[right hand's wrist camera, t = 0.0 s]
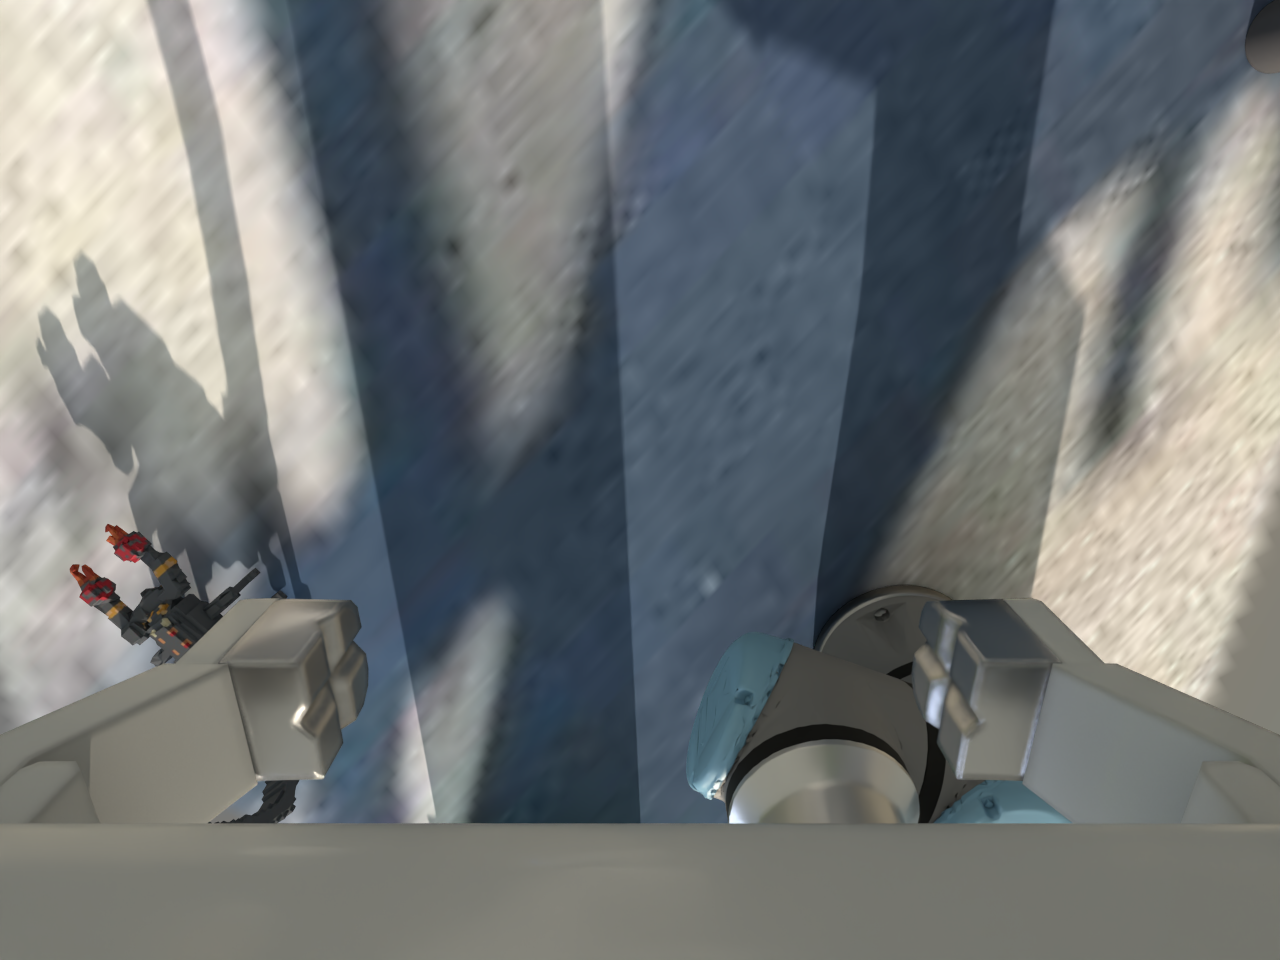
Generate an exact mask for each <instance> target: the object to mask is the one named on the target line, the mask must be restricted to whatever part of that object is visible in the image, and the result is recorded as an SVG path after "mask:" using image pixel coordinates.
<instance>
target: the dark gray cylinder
mask: <svg viewBox="0 0 1280 960" xmlns="http://www.w3.org/2000/svg"><path fill="white" fill-rule="evenodd" d="M1245 51H1246V56H1247V59H1248V61H1249V63H1250V64H1251V66H1252V67H1254V68H1255V69H1256V70H1258V71H1260V72H1263V73H1277V72H1280V0H1274V1H1272V2H1271V3H1269V4H1268V5H1267V6H1266V7H1264V8H1263V9H1262V10H1261V11H1260V12H1259V14H1258V15H1257V16H1256V17H1255V19H1254V20H1253V22H1252V24H1251V26H1250V28H1249V30H1248V33H1247V37H1246V42H1245Z"/></svg>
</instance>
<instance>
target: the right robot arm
mask: <svg viewBox="0 0 1280 960" xmlns="http://www.w3.org/2000/svg"><path fill="white" fill-rule="evenodd" d="M360 629H361V622H360V617H359V612H358V607H357V606H356V605H355V604H354V603H353V602H352V601H351V600H317V599H279V598H266V599H245V600H240V601H239V602H237V603H236V604H235V605H234V606H233V607H232V608H231V609H230V610H229V611H228V612H227V613H226V614H225V615H224V616H223V617H222V618H221V619H220V620H219V621H218V622H217V623H216V624H215V625H214V626H213V627H212V628H211V629H210V630H209V631H208V632H207V633H206V634H205V635H204V636H203V637H202V638H201V639H200V640H199V641H198V642H197V643H196V644H195V645H194V646H193V647H192V648H191V649H190V650H189V651H188V652H187V653H185V654H184V655H183V656H182V657H181V658H180V659H179V660H178V661H177V662H176V663H175V664H162V665H159V666H157V667H155V668H152V669H150V670H148V671H145V672H143V673H141V674H139V675H136V676H134V677H132V678H129V679H127V680H125V681H123V682H120V683H118V684H116V685H113V686H111V687H109V688H106V689H104V690H102V691H100V692H97V693H95V694H93V695H90V696H88V697H86V698H83V699H81V700H79V701H77V702H74V703H72V704H70V705H67V706H65V707H63V708H61V709H58V710H56V711H54V712H51V713H49V714H47V715H44V716H42V717H40V718H38V719H35V720H33V721H31V722H28V723H26V724H24V725H22V726H19V727H17V728H15V729H12V730H10V731H8V732H5V733H3V734H1V735H0V960H1280V735H1279V734H1276V733H1274V732H1272V731H1270V730H1267V729H1265V728H1263V727H1260V726H1258V725H1256V724H1253V723H1251V722H1249V721H1247V720H1244V719H1242V718H1240V717H1237V716H1235V715H1233V714H1231V713H1228V712H1226V711H1224V710H1221V709H1219V708H1217V707H1215V706H1212V705H1210V704H1208V703H1205V702H1203V701H1201V700H1199V699H1196V698H1194V697H1192V696H1189V695H1187V694H1185V693H1183V692H1180V691H1178V690H1176V689H1173V688H1171V687H1169V686H1167V685H1164V684H1162V683H1160V682H1157V681H1155V680H1153V679H1151V678H1148V677H1146V676H1144V675H1141V674H1139V673H1137V672H1135V671H1132V670H1130V669H1128V668H1125V667H1123V666H1121V665H1118V664H1105V663H1104V662H1103V661H1102V660H1101V659H1100V658H1099V657H1098V656H1097V655H1096V654H1095V653H1094V652H1093V651H1092V650H1091V649H1090V648H1088V647H1087V646H1086V645H1085V644H1084V643H1083V642H1082V641H1081V640H1080V639H1079V638H1078V637H1077V636H1076V635H1075V634H1074V633H1073V632H1072V631H1071V630H1070V629H1069V628H1068V627H1067V626H1066V625H1065V624H1064V623H1063V622H1062V621H1061V620H1060V619H1059V618H1058V617H1057V616H1056V615H1055V614H1054V613H1053V612H1052V611H1051V610H1050V609H1049V608H1048V607H1047V606H1046V605H1045V604H1044V603H1043V602H1042V601H1039V600H1036V599H1034V598H1020V599H988V600H948V601H927V602H926V603H925V605H924V607H923V609H922V611H921V616H920V621H919V629H920V630H921V632H922V633H923V635H924V637H925V638H926V640H927V641H926V642H925V643H924V644H923V645H922V646H921V647H920V648H919V649H918V650H917V651H916V652H915V653H914V657H913V665H912V673H911V675H912V686H913V694H914V698H915V701H916V704H917V707H918V709H919V711H920V713H921V715H922V717H923V719H924V720H925V721H927V722H928V723H930V724H931V725H933V726H934V727H936V728H937V729H939V732H938V738H937V744H938V746H939V748H940V750H941V751H942V753H943V755H944V757H945V759H946V760H947V762H948V764H949V766H950V768H951V769H952V771H953V773H954V775H955V776H956V778H957V779H970V780H1007V781H1023V783H1022V784H1023V785H1024V786H1026V787H1027V788H1028V789H1030V790H1031V791H1032V792H1033V793H1035V794H1036V795H1037V796H1039V797H1040V798H1041V799H1042V800H1044V801H1045V802H1046V803H1048V804H1049V805H1050V806H1051V807H1053V808H1054V809H1055V810H1057V811H1058V812H1059V813H1060V814H1062V815H1063V816H1064V817H1066V818H1067V819H1068V820H1069V821H1071V822H1072V823H208V822H210V821H211V820H212V819H213V818H215V817H216V816H217V815H219V814H220V813H221V812H222V811H224V810H225V809H226V808H228V807H229V806H230V805H231V804H233V803H234V802H235V801H237V800H238V799H239V798H240V797H242V796H243V795H244V794H246V793H247V792H248V791H249V790H251V789H252V788H253V787H255V786H256V785H257V781H273V780H308V779H323V778H324V777H325V775H326V773H327V771H328V769H329V768H330V766H331V764H332V762H333V760H334V759H335V757H336V755H337V753H338V751H339V750H340V748H341V746H342V744H343V738H342V732H341V729H343V728H344V727H346V726H347V725H349V724H350V723H352V722H353V721H355V720H356V719H357V717H358V715H359V713H360V711H361V709H362V707H363V705H364V701H365V696H366V692H367V688H368V663H367V657H366V653H365V652H364V651H363V650H362V649H361V648H360V647H359V646H358V645H357V644H356V643H355V642H354V641H353V640H354V638H355V637H356V635H357V633H358V632H359V630H360Z"/></svg>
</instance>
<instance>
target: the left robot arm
mask: <svg viewBox="0 0 1280 960" xmlns="http://www.w3.org/2000/svg"><path fill="white" fill-rule="evenodd" d="M948 600H951V599H950V598H949V597H947V596H945V595H943V594H942V593H939V592H937V591H935V590H931V589H928V588H924V587H919V586H909V585H900V586H890V587H884V588H880V589H876V590H873V591H870V592H868V593H865V594H863V595H861V596H859V597H857V598H855V599H853V600H851V601H850V602H848V603H847V604H845V605H844V606H843V607H841V608H840V609H839V610H838V611H837V612H836V613H835V614H834V615H833V616H832V617H831V618H830V619H829V620H828V622H827V623H826V624H825V626H824V627H823V629H822V631H821V632H820V634H819V636H818V639H817V641H816V644H815V648H814V649H811V648H808V647H805V646H802V645H799V644H797V643H794V640H793V639H791V638H787V639H781V638H778V637H774V636H771V635H767V634H764V633H760V632H750V633H746V634H744V635H742V636H741V637H739V638H738V639H737V640H735V641H734V642H733V643H732V644H731V645H730V646H729V648H728V649H727V650H726V652H725V653H724V655H723V656H722V658H721V660H720V661H719V663H718V665H717V667H716V669H715V671H714V673H713V675H712V677H711V679H710V681H709V683H708V686H707V688H706V691H705V693H704V696H703V698H702V701H701V704H700V707H699V709H698V713H697V716H696V719H695V722H694V726H693V729H692V733H691V738H690V742H689V748H688V754H687V766H686V773H687V779H688V782H689V784H690V786H691V787H692V789H694V790H695V791H697V792H699V793H701V794H703V795H704V797H705V798H708V799H710V800H711V799H712V798H713V797H715V798H717V799H720V800H723V801H724V802H725V804H726V811H727V817H728V823H1072V822H1071V821H1069V820H1068V819H1067V818H1066V817H1064V816H1063V815H1062V814H1060V813H1059V812H1058V811H1057V810H1055V809H1054V808H1053V807H1051V806H1050V805H1049V804H1048V803H1046V802H1045V801H1044V800H1042V799H1041V798H1040V797H1039V796H1037V795H1036V794H1035V793H1033V792H1032V791H1031V790H1030V789H1028V788H1027V787H1026V786H1024V785H1023V784H1022V783H1023V781H1007V780H970V779H957V778H956V776H955V775H954V773H953V771H952V769H951V768H950V766H949V764H948V762H947V760H946V759H945V757H944V755H943V753H942V751H941V750H940V748H939V746H938V744H937V738H938V732H939V729H937V728H936V727H934V726H933V725H931V724H930V723H928V722H927V721H925V720H924V719H923V717H922V715H921V713H920V711H919V709H918V707H917V704H916V701H915V698H914V694H913V686H912V675H911V673H912V665H913V657H914V653H915V652H916V651H917V650H918V649H919V648H920V647H921V646H922V645H923V644H924V643H925V642H926V641H927V640H926V638H925V637H924V635H923V633H922V632H921V630H920V629H919V621H920V616H921V611H922V609H923V607H924V605H925V603H926V602H927V601H948Z"/></svg>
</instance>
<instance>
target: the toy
mask: <svg viewBox="0 0 1280 960" xmlns="http://www.w3.org/2000/svg"><path fill="white" fill-rule="evenodd" d="M108 531H109V532H110V533H111V534H112V536H109V537H108V539H107V540H106V541H108V542H109V543H111V544H112V545H114V546H113V548H114V549H115V553H114V554H115V555H116V556H118V557H119V558H120V559H121V560H123V561H126V560H128V561H130V562H131V561H133V562H134V563H136V562H137V561H139V560H140V559H141V560H142V561H143V562H144V563H145V564H147V565H148V566H149V567H150V568H151V569H152V571H153V573H154V574H155V576H156V577H157V578H158V580H159V581H160V583H161V586H159V587H155V588H151V589H145V590H144V591H143V592H142V593H140V594H141V596H142V600H141V602H140V604H139V605H138V606H137V607H136V609H135V610H134V611H132V610H131V609H130V608H129V607H128V606H126V605H125V604H124V603H123V602H122V601H121V600H120V597H119V596H118V595H117V594H116V593H115V592H114V591H115V590H116V584H115V583H113V582H112V581H110V580H109V579H107V578H105V577H104V578H101V577H100V576H98V575H97V574H95V573H94V572H93V570H92V569H91V568H90V567H88V566H87V565H83V566H82V571H83V572H84V574H85V575H86V576H84V575H83V574H82V573H80V572H78V569H79V565H72V566H71V568H70V573H71V574H72V575H73V576H74V577H75V579H76V580H77V581H78V584H79V586H80V588H81V590H82V593H81V594H80V598H81V599H82V600H84V601H85V602H86V603H87V604H89V605H90V606H94V607H96V608H97V609H98V610H100V611H101V612H103V613H104V614H106V615H107V616H109V618H108V619H109V620H110V621H112V622H113V623H114V624H115V625H116V626H117V627H119V628H120V629H121V637H123V638H124V639H126V640H127V641H128V642H129V643H131V644H132V645H134V644H136V643H138V644H139V645H141V644H142V643H143V642H144V641H145V640H147V639H148V638H149V637H151V638H153V639H154V640H155V641H156V643H157V645H158V646H160V647H161V649H160V650H159V651H158V652H157V653H156V654H155V655H154V656H153V658H152V660H151V662H150V663H152V664H154V665H155V666H159V665H162V664H165V663H166V662H167V661H168V660H169V659H171V658H172V657H173V658H175V661H174V663H176V662H177V661H178V660H179V659H180V658H181V657H182V656H183V655H184V654H185V653H187V652H188V651H189V650H190V649H191V648H192V647H193V646H194V645H195V644H196V643H197V642H198V641H199V640H200V639H201V638H202V637H203V636H204V635H205V634H206V633H207V632H208V631H209V630H210V629H211V628H212V627H213V626H214V625H215V624H216V623H217V622H218V621H219V620H220V619H221V618H222V617H223V616H222V615H221V614H220V613H221V612H222V611H223V610H224V609H226V608H227V607H228V606H229V605H230V604H231V603H232V602H234V601H235V600H236V599H237V598H238V597H239V596H240V594H239V592H240V591H241V590H242V589H243V588H244V587H245V586H246V585H247V584H248V583H249V582H250V581H251V580H253V579H254V578H255V577H256V576H257V575H258V574H259V573H260V572H259V571H258V570H257V569H256V568H255V569H254V570H252V571H251V572H250V573H249V574H248V575H246V576H245V577H244V578H243V579H242V580H241V581H240V582H239V583H238V584H237V585H236V586H234V587H229V588H227V589H226V590H225V591H224V592H223V593H222V594H220V595H219V596H218V597H217V598H216V599H215V600H213V601H212V602H211V603H210V604H208V603H207V602H202V601H200V600H199V599H198V598H197V597H196V596H195V595H194V594H189V595H187V596H186V597H185V598H182V597H181V596H182V595H183V594H184V593H185V592H187V591H188V590H189V589H190V588H191V587H190V586H189V584H190V583H189V582H187V580H186V577H187V576H186V575H185V574H184V573H183V572H182V571H181V569H180V568H179V566H178V564H177V560H176V559H174V558H173V557H172V556H171V555H170V554H169V553H167V552H165V553H160V552H157V551H156V550H154V549H153V548H152V547H151V546H150V545H151V543H150V542H149V541H148V540H147V539H146V538H145V537H144V536H143V535H142V534H141V533H140V532H134V531H133V532H131V533H130V534H128V533H126V532H125V531H124V530H122V529H121V528H120V527H118V526H117V525H116V526H115V527H114V526H112V525H109V524H107V526H106V527H105V532H108ZM271 598H279V599H286V598H287V596H286V595H285V594H284V593H283V592H282V591H281V590H280V591H279V592H277V593H276V594H275V595H274V596H272V597H271ZM298 782H299V780H273V781H265V783H266V784H267V785H266V787H265V789H264V790H263V794H264V796H263V798H262V801H263V802H264V803H263V804H262V806H261V808H260V809H259V811H258V812H256V813H254V814H253V815H252V816H251V815H244V816H243V817H241V818H240V819H239V818H238V819H237V820H236V821H235V820H234V819H233V820H232V821H230V822H225V821H223V822H221V823H278V822H280V821H281V820H283V819H285V817H286V816H288V815H289V814H290V813H292V812H293V810H294V809H295V807H296V806H295V805H293V803H294V802H295V800H296V798H295V789H296V785H297V784H298ZM208 823H211V822H208ZM216 823H219V822H216Z"/></svg>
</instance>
